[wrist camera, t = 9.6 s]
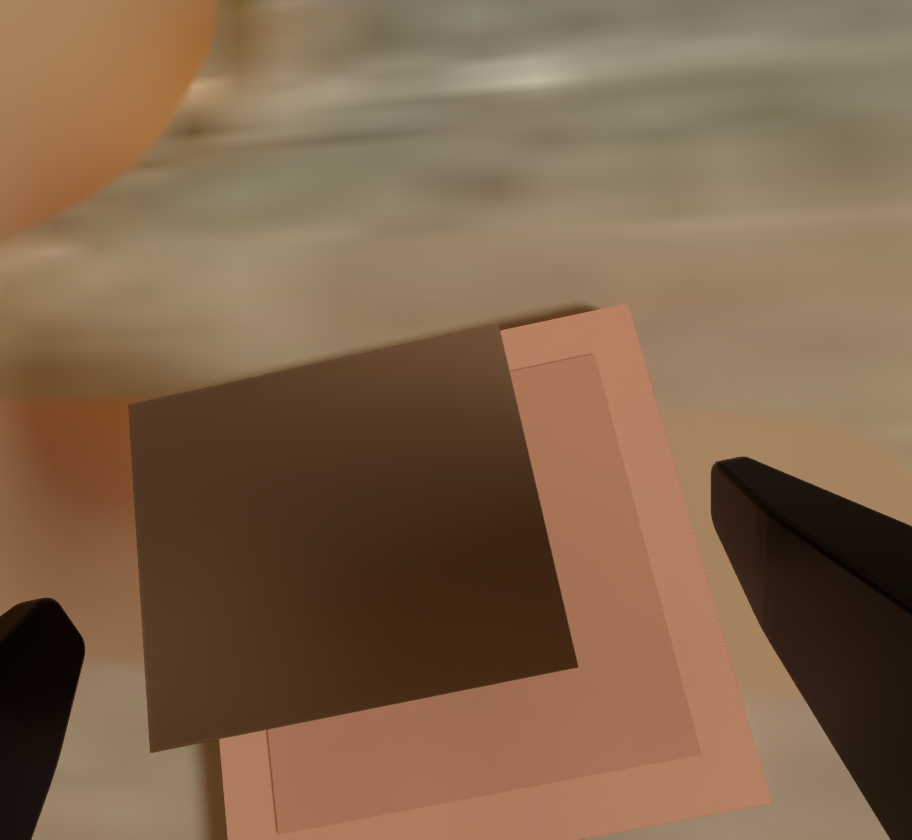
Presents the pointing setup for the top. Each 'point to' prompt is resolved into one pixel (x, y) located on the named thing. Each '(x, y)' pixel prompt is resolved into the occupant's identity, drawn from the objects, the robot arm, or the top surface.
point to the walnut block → (340, 541)
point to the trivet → (559, 693)
